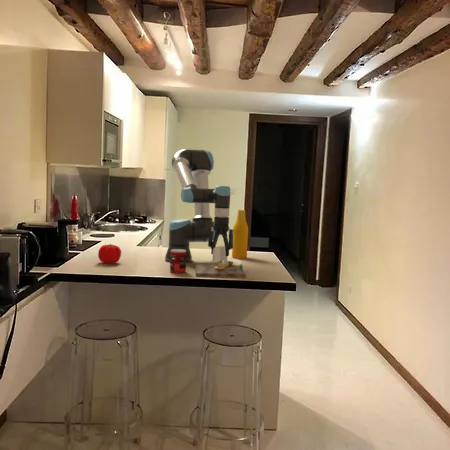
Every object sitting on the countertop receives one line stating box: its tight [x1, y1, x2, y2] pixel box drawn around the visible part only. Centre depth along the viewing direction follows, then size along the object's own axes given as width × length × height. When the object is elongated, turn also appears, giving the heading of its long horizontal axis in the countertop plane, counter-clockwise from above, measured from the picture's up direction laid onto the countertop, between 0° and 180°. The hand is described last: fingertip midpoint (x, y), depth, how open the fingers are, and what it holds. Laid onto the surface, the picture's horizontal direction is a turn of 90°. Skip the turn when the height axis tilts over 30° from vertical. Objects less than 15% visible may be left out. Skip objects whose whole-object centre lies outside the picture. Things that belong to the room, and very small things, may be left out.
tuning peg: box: [213, 245, 229, 269], centre depth 243 cm, size 5×14×11 cm, turn 153°
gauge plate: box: [195, 260, 246, 279], centre depth 240 cm, size 24×24×4 cm
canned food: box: [169, 249, 187, 274], centre depth 236 cm, size 8×8×11 cm
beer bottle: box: [231, 209, 249, 260], centre depth 284 cm, size 9×9×29 cm
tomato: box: [97, 243, 122, 265], centre depth 251 cm, size 12×12×10 cm
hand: (219, 261), depth 240 cm, fingers open, 6 cm apart
